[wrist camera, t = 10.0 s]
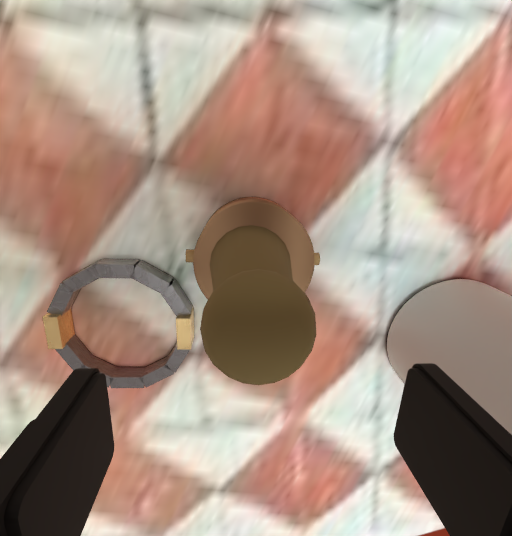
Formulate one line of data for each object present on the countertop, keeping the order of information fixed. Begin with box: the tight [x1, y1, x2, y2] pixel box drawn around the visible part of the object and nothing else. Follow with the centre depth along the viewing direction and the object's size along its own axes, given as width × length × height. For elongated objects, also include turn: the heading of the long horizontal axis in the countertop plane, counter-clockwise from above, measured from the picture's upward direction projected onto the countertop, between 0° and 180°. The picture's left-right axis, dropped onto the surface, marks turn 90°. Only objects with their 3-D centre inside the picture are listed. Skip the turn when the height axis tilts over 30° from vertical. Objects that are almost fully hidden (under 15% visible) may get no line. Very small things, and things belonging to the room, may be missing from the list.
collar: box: [43, 259, 194, 388], centre depth 28 cm, size 12×12×2 cm
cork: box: [200, 225, 316, 385], centre depth 18 cm, size 6×6×11 cm
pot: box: [186, 197, 320, 299], centre depth 25 cm, size 11×9×5 cm
